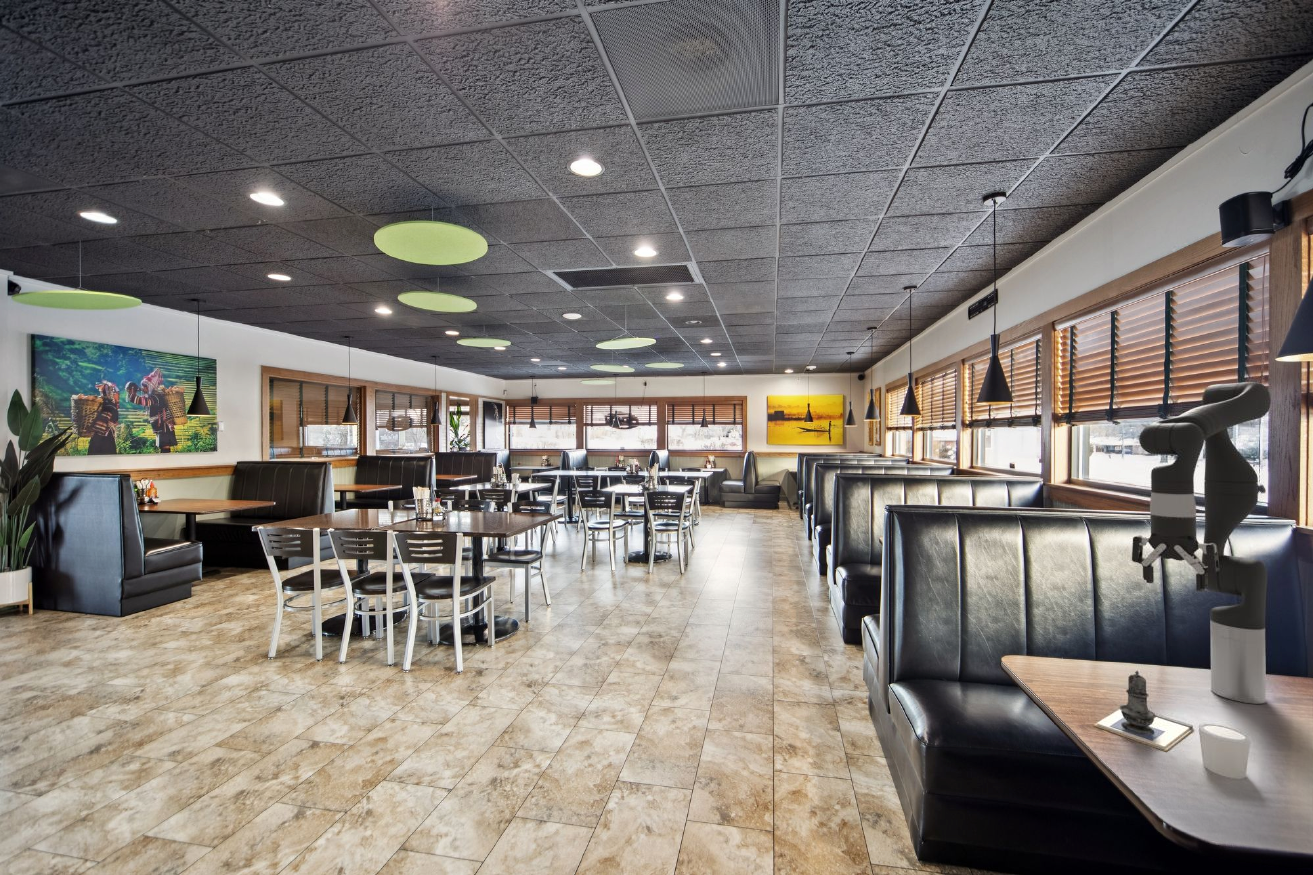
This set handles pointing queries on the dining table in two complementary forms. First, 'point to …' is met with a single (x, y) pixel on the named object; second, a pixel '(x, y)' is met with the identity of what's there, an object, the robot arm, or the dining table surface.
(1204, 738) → the shot glass
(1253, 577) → the robot arm
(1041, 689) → the dining table surface
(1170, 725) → the order pad
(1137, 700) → the dark grey chess bishop
